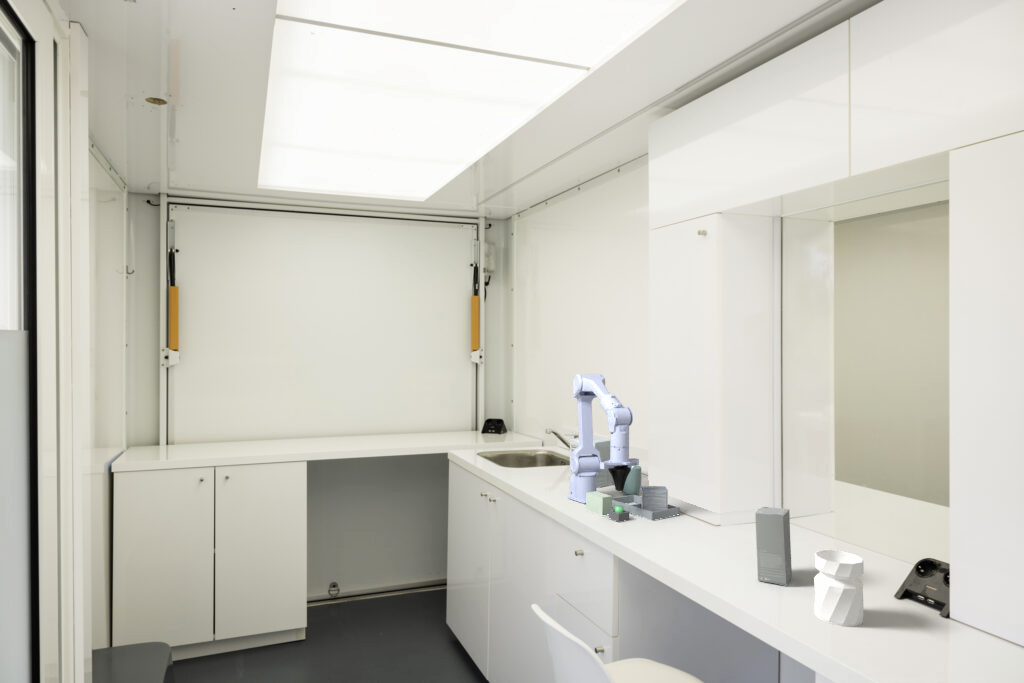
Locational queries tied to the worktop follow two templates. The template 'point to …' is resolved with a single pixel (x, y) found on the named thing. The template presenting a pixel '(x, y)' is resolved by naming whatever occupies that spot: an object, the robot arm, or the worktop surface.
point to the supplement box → (604, 449)
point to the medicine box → (654, 498)
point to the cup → (633, 481)
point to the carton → (598, 502)
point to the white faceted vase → (838, 588)
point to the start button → (619, 509)
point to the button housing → (619, 515)
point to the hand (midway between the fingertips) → (619, 490)
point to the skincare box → (773, 545)
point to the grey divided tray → (642, 512)
